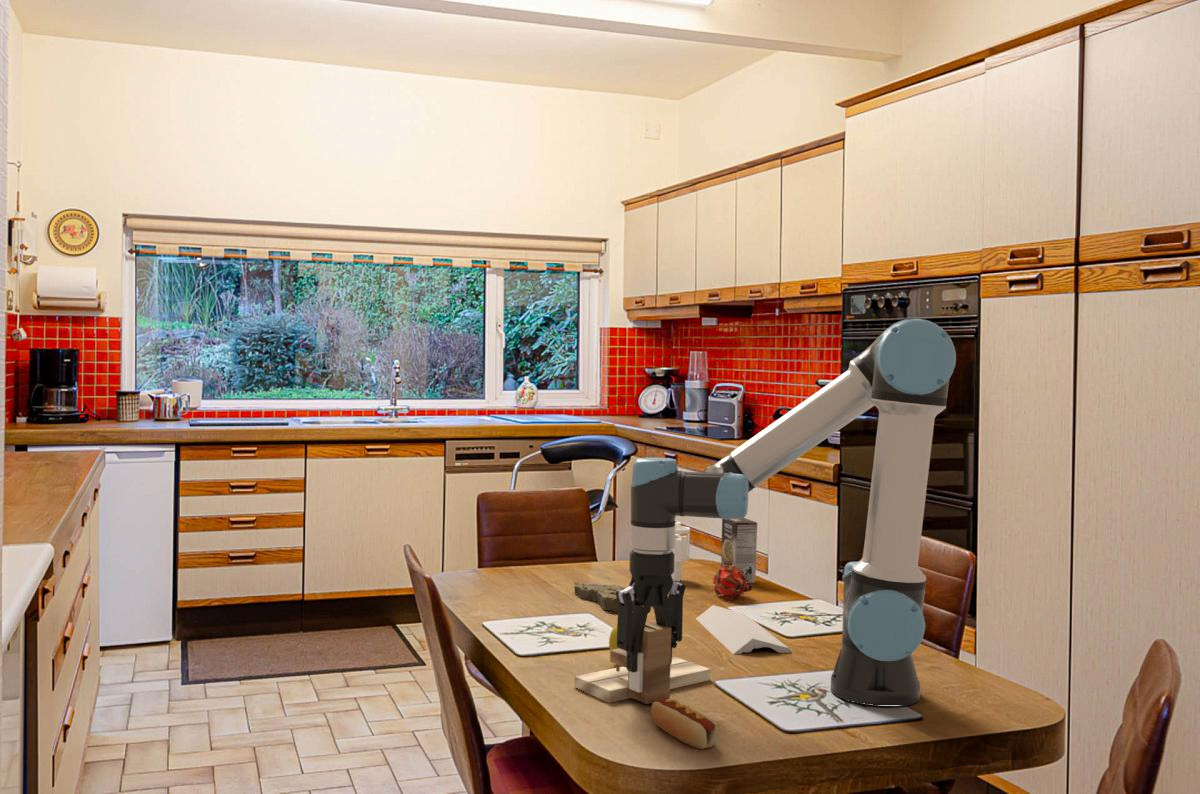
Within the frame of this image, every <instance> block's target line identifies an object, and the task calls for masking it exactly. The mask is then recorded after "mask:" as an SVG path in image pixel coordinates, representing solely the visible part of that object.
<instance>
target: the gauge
mask: <svg viewBox="0 0 1200 794" xmlns="http://www.w3.org/2000/svg"><path fill="white" fill-rule="evenodd" d="M609 651H610V653H609V655H610V656H609V662H611V663H613V664H615V665H616V666H615V668H616V671H617V672H619V671H620V667H625V668H626V667H627V652H626V651H625V650H622V649H614V650H610V649H609ZM639 652H642V653H643V691H642V692H640V693H638V692H636V691H634V690H631V689H629V671H628V696H629V697H631V698H630V699H634V700H636V701H638V702H641V703H643V704H645V705H649V704H653V703H654V702H656V700H657V699H658V698H659V697H666V698H667V699H670V696H671V695H670V693H671V689H670V660H671V628H669V627H665V626H662V625H659V624H656V622H654V621H650V622H646V624H645V628H644V630H643V637H642V642H641V646H640V651H639Z"/></svg>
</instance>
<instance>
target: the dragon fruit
mask: <svg viewBox="0 0 1200 794" xmlns="http://www.w3.org/2000/svg"><path fill="white" fill-rule="evenodd" d="M743 573H744V572H743V570H741V569H738V568H737V567H735V566H733V565H724V566H723V567H720V568H719V569H718V570H717V571H716V573H715V574H714V576H713V581H712V584H714V592H715V594H716V595H717V596H718V595H722V597H724V598H725V599H726V600H729V601H732V600H733V601H734V600H735V598H740V597H742V598H743V595H745V593H748V592H751V591H752V589H753V585H752V584H750V583H749V581H747V578H746V576H745V575H744V574H743ZM746 581H747V582H748V583H746Z"/></svg>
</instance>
